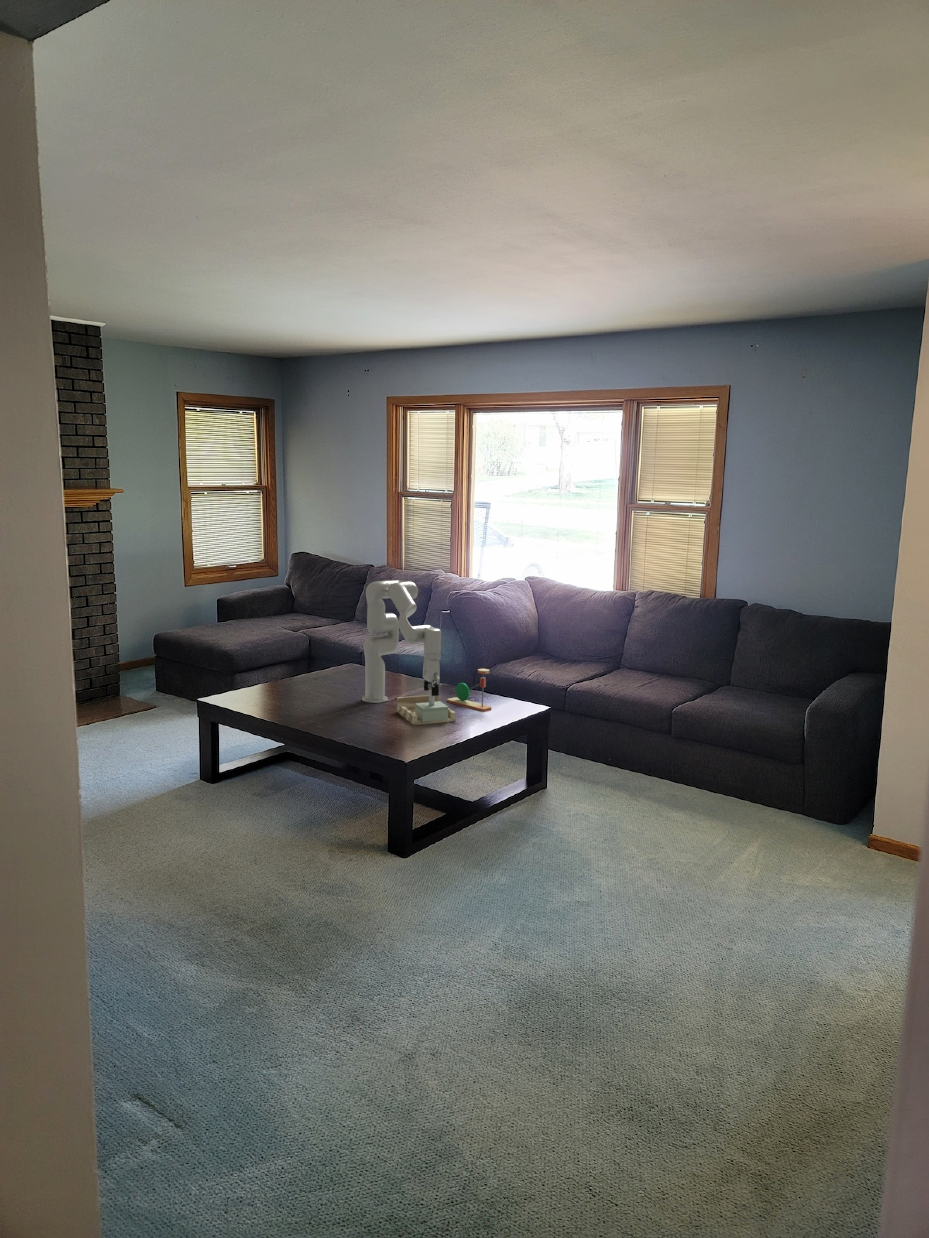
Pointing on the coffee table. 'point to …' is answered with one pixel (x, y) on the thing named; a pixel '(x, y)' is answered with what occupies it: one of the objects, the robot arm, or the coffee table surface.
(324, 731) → the coffee table surface
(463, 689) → the crank mechanism
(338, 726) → the coffee table surface
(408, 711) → the bay
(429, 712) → the green joystick
